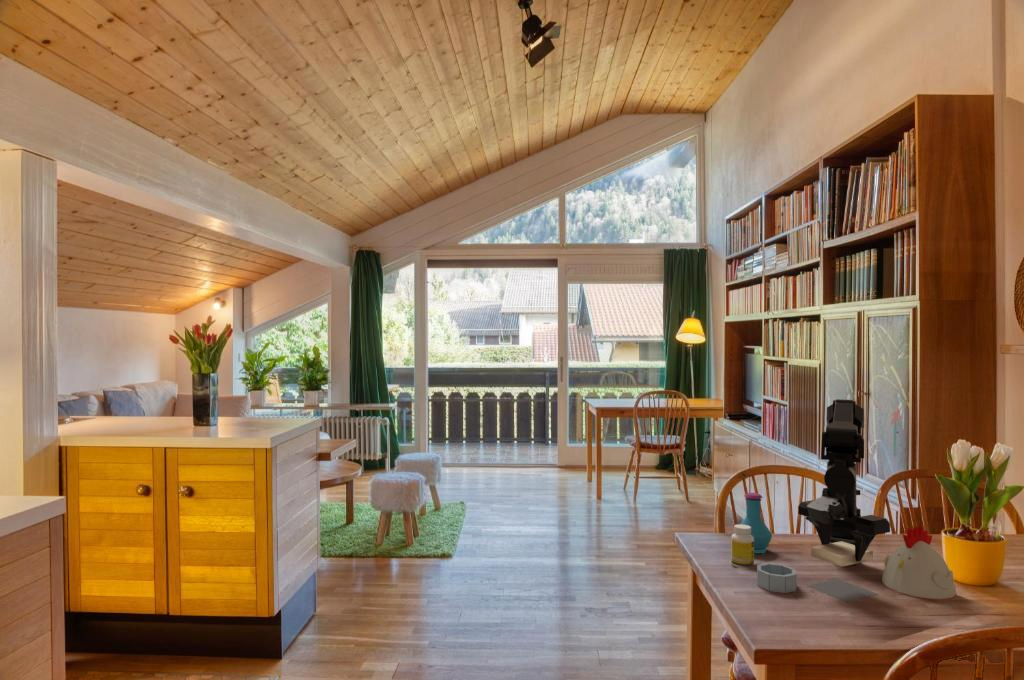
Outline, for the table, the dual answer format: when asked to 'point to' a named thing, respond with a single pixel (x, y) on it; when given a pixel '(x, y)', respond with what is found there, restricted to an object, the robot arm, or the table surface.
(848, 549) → the cover board
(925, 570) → the white ceramic hen
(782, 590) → the bowl
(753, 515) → the teal vase
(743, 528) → the supplement bottle
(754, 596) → the table surface
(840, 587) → the mat
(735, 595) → the table surface
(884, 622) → the table surface
